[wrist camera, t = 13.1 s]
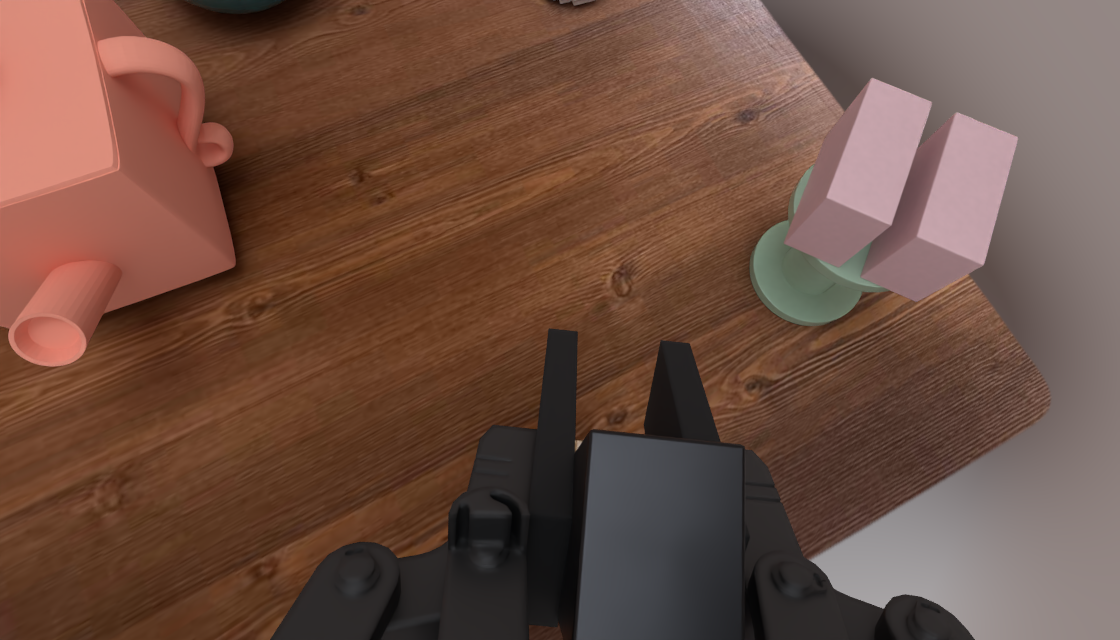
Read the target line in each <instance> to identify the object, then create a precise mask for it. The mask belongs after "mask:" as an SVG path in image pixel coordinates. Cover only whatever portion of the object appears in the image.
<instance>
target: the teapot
mask: <svg viewBox="0 0 1120 640" xmlns="http://www.w3.org/2000/svg"><path fill="white" fill-rule="evenodd" d="M204 108H205V90H204V85H203V81H202V78H201V75H200V73H199V71H198V69H197V67H196V66H195V64H194V63H193V62H192V60H191V59H190V58H189V57H188V56H187V55H186V54H184V53H183V52H182V51H180V50H179V49H177V48H175V47H173V46H171V45H169V44H167V43H164V42H162V41H158V40H155V39H150V38H146V37H145V36H144V35H143V33H142V32H141V31H140V30H139V29H138V28H137V26H136V25H135V24H134V23H133V22H132V21H131V20H130V18H129V17H128V16H127V15H126V14H125V13H124V12H123V11H122V9H121V8H120V7H119V6H118V5H117V4H116V3H115V2H114V1H113V0H0V326H2V327H6V328H9V329H10V330H9V335H8V338H9V343H10V345H11V347H12V348H13V349H14V351H15V352H16V353H17V354H18V355H19V356H21V357H22V358H24V359H26V360H27V361H30V362H32V363H35V364H39V365H43V366H62V365H66V364H69V363H72V362H74V361H76V360H77V359H78V358H80V357H81V355H82V354H83V353H84V351H85V349H86V347H87V345H88V343H89V341H90V339H91V337H92V335H93V333H94V331H95V329H96V327H97V325H98V323H99V321H100V319H101V317H102V315H103V313H106V312H109V311H112V310H115V309H118V308H121V307H124V306H127V305H130V304H133V303H136V302H139V301H142V300H145V299H148V298H150V297H153V296H156V295H159V294H162V293H165V292H168V291H170V290H173V289H176V288H179V287H182V286H185V285H188V284H190V283H193V282H196V281H199V280H202V279H205V278H207V277H210V276H213V275H215V274H218V273H221V272H224V271H226V270H229V269H231V268H233V267H235V265H236V258H235V252H234V247H233V242H232V238H231V233H230V229H229V225H228V221H227V217H226V213H225V209H224V205H223V201H222V197H221V193H220V189H219V185H218V182H217V178H216V175H215V171H214V168H213V167H214V166H217V165H220V164H222V163H224V162H226V161H227V160H228V159H229V158H230V157H231V155H232V153H233V147H234V144H233V139H232V136H231V134H230V133H229V131H228V130H227V129H226V128H225V127H224V126H222V125H220V124H218V123H213V122H208V123H202V120H203V115H204Z"/></svg>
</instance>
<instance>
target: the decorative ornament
mask: <svg viewBox="0 0 1120 640" xmlns="http://www.w3.org/2000/svg"><path fill="white" fill-rule="evenodd" d="M553 1H554V0H553ZM559 1H560V4H562V3H566V2H571V1H572V3H573V5H574V6H575V5H579V4H583V3H587V2H591V1H595V0H559Z"/></svg>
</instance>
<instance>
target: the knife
mask: <svg viewBox="0 0 1120 640" xmlns="http://www.w3.org/2000/svg"><path fill="white" fill-rule="evenodd" d="M558 621H559V624H560V628H561V632H562V636H563V640H745V448H744V446H742V445H741V444H731V443H722V442H712V441H703V440H693V439H683V438H674V437H664V436H654V435H645V434H635V433H625V432H616V431H606V430H597V429H593V430H590V431H589V433H588V434H587V436H586V437H585V439H584V440H583V441H582V443H581V444H580V446H579V447H578V449H577V450H576V452H575V453H574V473H573V514H572V525H571V532H570V538H569V545H568V552H567V559H566V565H565V572H564V579H563V586H562V592H561V599H560V606H559V613H558Z"/></svg>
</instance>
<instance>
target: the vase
mask: <svg viewBox="0 0 1120 640" xmlns="http://www.w3.org/2000/svg"><path fill="white" fill-rule="evenodd" d="M185 1H187V2H188V3H190V4H193V5H196V6H198V7H201V8H204V9H207V10H209V11H214V12H219V13H228V14H248V13H254V12H259V11H262V10H266V9H269V8H271V7H274V6H276V5H278V4H280V3H281V2H283V1H285V0H185Z"/></svg>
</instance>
